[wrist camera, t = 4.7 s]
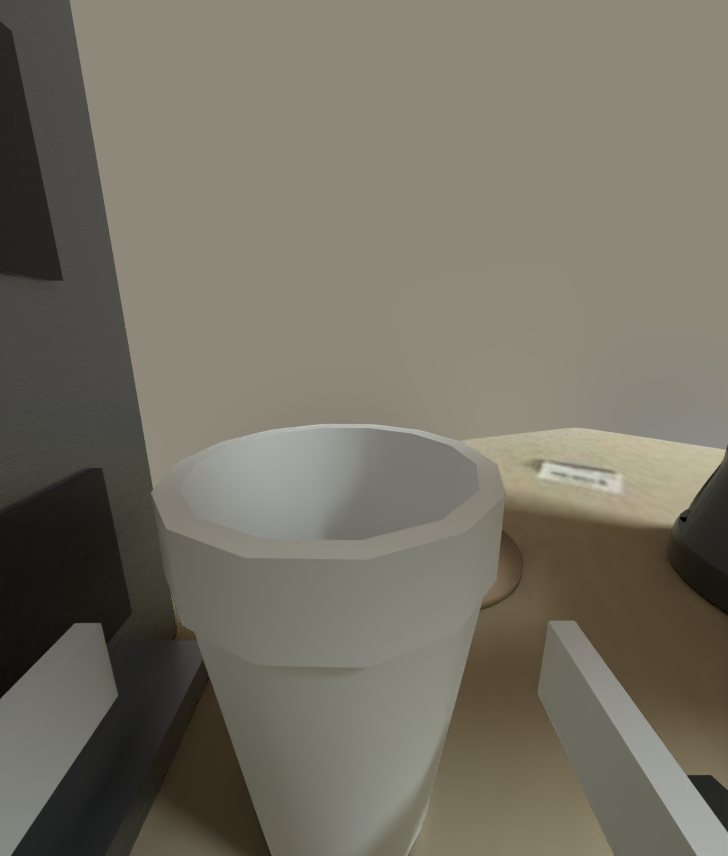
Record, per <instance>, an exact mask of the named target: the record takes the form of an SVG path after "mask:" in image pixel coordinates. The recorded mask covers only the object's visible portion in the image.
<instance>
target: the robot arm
mask: <svg viewBox="0 0 728 856" xmlns="http://www.w3.org/2000/svg"><path fill="white" fill-rule="evenodd" d="M668 556H669V559H670V561H671V563H672V565H673V566H674V568H675V569H676V571H677V572H678V573H679V574H680V575H681V576H682V577H683V578H684V579H685V580H686V581H687V582H688V583H689V584H690V585H691V586H692V587H693V588H694V589H696V590H697V591H698V592H699V593H700V594H702V595H703V596H704V597H706V598H707V599H708V600H710V601H711V602H713V603H714V604H715V605H717V606H718V607H720V608H721V609H723V610H725V611H726V612H728V446H727V449H726V452H725V456H724V459H723V461H722V462H721V464H720V465H719V467H718V468H717V469H716V470H715V472H714V473H713V474H712V475H711V477H710V478H709V479H708V480H707V482H706V483H705V484H704V486H703V487H702V488H701V490H700V491H699V492H698V494H697V495H696V497H695V498H694V500H693V502H692V503H691V505H690V507H689V509H687V510H685V511H684V512H682V513H681V514H680V515H679V517H678V518H677V519H676V521H675V523H674V525H673V529H672V533H671V537H670V541H669V545H668ZM537 694H538V696H539V698H540V700H541V702H542V704H543V707H544V709H545V711H546V713H547V715H548V717H549V719H550V721H551V723H552V725H553V728H554V730H555V732H556V734H557V736H558V738H559V740H560V742H561V744H562V747H563V749H564V751H565V753H566V755H567V757H568V759H569V761H570V763H571V765H572V768H573V770H574V772H575V774H576V776H577V778H578V780H579V782H580V784H581V787H582V789H583V791H584V793H585V795H586V797H587V799H588V801H589V803H590V805H591V808H592V810H593V812H594V814H595V816H596V818H597V820H598V822H599V824H600V826H601V829H602V831H603V833H604V835H605V837H606V839H607V841H608V843H609V845H610V848H611V850H612V852H613V854H614V856H728V790H727V789H726V788H725V787H723V786H722V785H721V784H720V783H719V782H718V781H717V780H716V779H715V778H713V777H712V776H711V775H686V774H685V773H684V771H683V770H682V769H681V767H680V766H679V764H678V763H677V762H676V760H675V759H674V757H673V756H672V755H671V753H670V752H669V751H668V749H667V748H666V746H665V745H664V744H663V742H662V741H661V739H660V738H659V737H658V735H657V734H656V733H655V731H654V730H653V728H652V727H651V726H650V724H649V723H648V721H647V720H646V719H645V717H644V716H643V715H642V713H641V712H640V710H639V709H638V708H637V706H636V705H635V703H634V702H633V701H632V699H631V698H630V697H629V695H628V694H627V692H626V691H625V690H624V688H623V687H622V685H621V684H620V683H619V681H618V680H617V679H616V677H615V676H614V674H613V673H612V672H611V670H610V669H609V667H608V666H607V665H606V663H605V662H604V661H603V659H602V658H601V656H600V655H599V654H598V652H597V651H596V649H595V648H594V647H593V645H592V644H591V643H590V641H589V640H588V638H587V637H586V636H585V634H584V633H583V631H582V630H581V629H580V627H579V626H578V625H577V623H576V622H575V621H548V627H547V633H546V640H545V647H544V653H543V660H542V666H541V673H540V680H539V686H538V693H537ZM117 697H118V693H117V688H116V684H115V680H114V676H113V671H112V667H111V663H110V659H109V655H108V650H107V646H106V642H105V638H104V634H103V629H102V625H101V623H75V624H74V625H73V626H72V627H71V628H70V629H69V630H68V631H67V632H66V633H65V634H64V635H63V636H62V637H61V638H60V639H59V640H58V641H57V642H56V643H55V644H54V645H53V646H52V647H51V648H50V649H49V650H48V651H47V652H46V653H45V654H44V655H43V656H42V657H41V658H40V659H39V660H38V661H37V662H36V663H35V664H34V665H33V666H32V667H31V668H30V669H29V670H28V671H27V672H26V673H25V674H24V675H23V676H22V677H21V678H20V679H19V680H18V682H17V683H16V684H15V685H14V686H13V687H12V688H11V689H10V690H9V691H8V692H7V693H6V694H5V695H4V696H3V697H2V698H1V699H0V856H11V854H12V853H13V851H14V850H15V848H16V847H17V845H18V844H19V843H20V841H21V840H22V838H23V837H24V835H25V834H26V832H27V831H28V829H29V828H30V826H31V825H32V823H33V822H34V820H35V819H36V817H37V816H38V814H39V813H40V811H41V810H42V808H43V807H44V805H45V804H46V802H47V801H48V799H49V798H50V796H51V795H52V793H53V792H54V790H55V789H56V787H57V786H58V784H59V783H60V781H61V780H62V779H63V777H64V776H65V774H66V773H67V771H68V770H69V768H70V767H71V765H72V764H73V762H74V761H75V759H76V758H77V756H78V755H79V753H80V752H81V750H82V749H83V747H84V746H85V744H86V743H87V741H88V740H89V738H90V737H91V735H92V734H93V732H94V731H95V729H96V728H97V726H98V725H99V723H100V722H101V720H102V719H103V717H104V716H105V715H106V713H107V712H108V710H109V709H110V707H111V706H112V704H113V703H114V701H115V700H116V698H117Z"/></svg>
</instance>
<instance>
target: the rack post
mask: <svg viewBox="0 0 728 856" xmlns="http://www.w3.org/2000/svg"><path fill="white" fill-rule="evenodd" d="M152 491H153V487H152V482H151V475H150V469H149V464H148V458H147V452H146V446H145V440H144V434H143V429H142V423H141V417H140V411H139V405H138V399H137V393H136V388H135V382H134V376H133V370H132V364H131V358H130V352H129V346H128V340H127V335H126V329H125V323H124V318H123V312H122V306H121V300H120V294H119V288H118V282H117V276H116V270H115V264H114V258H113V253H112V247H111V241H110V235H109V229H108V224H107V217H106V212H105V206H104V200H103V194H102V188H101V182H100V177H99V171H98V165H97V159H96V153H95V147H94V141H93V136H92V130H91V124H90V118H89V112H88V106H87V100H86V95H85V89H84V83H83V77H82V71H81V65H80V60H79V54H78V48H77V42H76V36H75V30H74V24H73V18H72V12H71V7H70V1H69V0H0V699H1V698H2V697H3V696H4V695H5V694H6V693H7V692H8V691H9V690H10V689H11V688H12V687H13V686H14V685H15V684H16V683H17V682H18V680H19V679H20V678H21V677H22V676H23V675H24V674H25V673H26V672H27V671H28V670H29V669H30V668H31V667H32V666H33V665H34V664H35V663H36V662H37V661H38V660H39V659H40V658H41V657H42V656H43V655H44V654H45V653H46V652H47V651H48V650H49V649H50V648H51V647H52V646H53V645H54V644H55V643H56V642H57V641H58V640H59V639H60V638H61V637H62V636H63V635H64V634H65V633H66V632H67V631H68V630H69V629H70V628H71V627H72V626H73V625H74V624H75V623H101V625H102V629H103V634H104V638H105V642H106V646H107V650H108V655H109V659H110V663H111V667H112V671H113V676H114V680H115V684H116V688H117V693H118V697H117V698H116V700H115V701H114V703H113V704H112V706H111V707H110V709H109V710H108V712H107V713H106V715H105V716H104V717H103V719H102V720H101V722H100V723H99V725H98V726H97V728H96V729H95V731H94V732H93V734H92V735H91V737H90V738H89V740H88V741H87V743H86V744H85V746H84V747H83V749H82V750H81V752H80V753H79V755H78V756H77V758H76V759H75V761H74V762H73V764H72V765H71V767H70V768H69V770H68V771H67V773H66V774H65V776H64V777H63V779H62V780H61V781H60V783H59V784H58V786H57V787H56V789H55V790H54V792H53V793H52V795H51V796H50V798H49V799H48V801H47V802H46V804H45V805H44V807H43V808H42V810H41V811H40V813H39V814H38V816H37V817H36V819H35V820H34V822H33V823H32V825H31V826H30V828H29V829H28V831H27V832H26V834H25V835H24V837H23V838H22V840H21V841H20V843H19V844H18V845H17V847H16V848H15V850H14V851H13V853H12V854H11V856H129V854H130V851H131V849H132V847H133V845H134V842H135V840H136V838H137V836H138V834H139V831H140V829H141V827H142V825H143V823H144V820H145V818H146V816H147V814H148V812H149V809H150V807H151V805H152V803H153V800H154V798H155V796H156V794H157V792H158V789H159V787H160V785H161V783H162V781H163V778H164V776H165V774H166V772H167V770H168V767H169V765H170V763H171V761H172V758H173V756H174V754H175V752H176V750H177V747H178V745H179V743H180V741H181V739H182V736H183V734H184V732H185V730H186V728H187V725H188V723H189V721H190V719H191V716H192V714H193V712H194V710H195V708H196V705H197V703H198V701H199V699H200V697H201V694H202V692H203V690H204V688H205V686H206V683H207V681H208V679H209V675H208V672H207V669H206V666H205V663H204V660H203V657H202V655H201V652H200V649H199V646H198V643H197V640H173V639H174V637H175V636H176V634H177V627H176V622H175V616H174V610H173V604H172V598H171V592H170V588H169V585H168V582H167V580H166V577H165V572H164V567H163V561H162V555H161V549H160V543H159V538H158V532H157V526H156V520H155V514H154V509H153V503H152V497H151V492H152Z"/></svg>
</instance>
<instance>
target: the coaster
mask: <svg viewBox="0 0 728 856" xmlns="http://www.w3.org/2000/svg"><path fill="white" fill-rule="evenodd" d="M521 572H522V556H521V554H520V551H519V549H518V547H517V545H516V544H515V543H514V541H513V540H512V539H511V538H510V537H509V536H508V535H507V534H506V533H505V532H504V531H502V533H501V543H500V553H499V562H498V572H497V580H496V581H495V583H494V584H493V585H492V587H491V588H490V590H489V591H488V592H487V594H486V595H485V596H484V598H483V601H482V604H481V608H480V609H484V608H487V607H490V606H492V605H495V604H497V603H499V602H501V601H502V600H504V599H505V598H507V597H508V596H509V595H510V594H511V593H512V592H513V591H514V590H515V589H516V587H517V586H518V584H519V581H520V579H521Z"/></svg>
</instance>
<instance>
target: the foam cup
mask: <svg viewBox="0 0 728 856" xmlns="http://www.w3.org/2000/svg"><path fill="white" fill-rule="evenodd" d="M151 497H152V503H153V509H154V514H155V520H156V526H157V532H158V538H159V543H160V549H161V555H162V561H163V567H164V572H165V577H166V580H167V582H168V585H169V588H170V591H171V594H172V597H173V600H174V603H175V606H176V609H177V612H178V614H179V617H180V620H181V623H182V626H184V627H185V628H187V629H189V630H191V631H193V632H194V634H195V637H196V640H197V643H198V646H199V649H200V652H201V655H202V657H203V660H204V663H205V666H206V669H207V672H208V675H209V678H210V681H211V684H212V686H213V689H214V692H215V695H216V698H217V701H218V704H219V707H220V710H221V713H222V716H223V718H224V721H225V724H226V727H227V730H228V733H229V736H230V739H231V742H232V745H233V747H234V750H235V753H236V756H237V759H238V762H239V765H240V768H241V771H242V774H243V776H244V779H245V782H246V785H247V788H248V791H249V794H250V797H251V800H252V803H253V805H254V808H255V811H256V814H257V817H258V820H259V822H260V825H261V828H262V831H263V833H264V836H265V839H266V842H267V844H268V847H269V850H270V853H271V855H272V856H408V854H409V852H410V850H411V848H412V846H413V844H414V842H415V840H416V838H417V836H418V835H419V833H420V831H421V829H422V822H423V820H424V819H425V817H426V813H427V809H428V805H429V801H430V798H431V794H432V790H433V786H434V783H435V779H436V775H437V771H438V767H439V764H440V760H441V756H442V752H443V748H444V745H445V741H446V737H447V733H448V729H449V726H450V722H451V718H452V714H453V710H454V707H455V703H456V699H457V695H458V692H459V688H460V684H461V680H462V676H463V673H464V669H465V665H466V661H467V657H468V654H469V650H470V646H471V642H472V638H473V635H474V631H475V627H476V623H477V619H478V616H479V612H480V608H481V604H482V601H483V598H484V596H485V595H486V594H487V592H488V591H489V590H490V588H491V587H492V585H493V584H494V583H495V581H496V580H497V572H498V562H499V553H500V543H501V533H502V524H503V514H504V505H505V491H504V488H503V484H502V480H501V476H500V473H499V469H498V465H497V464H496V463H495V462H493V461H491V460H490V459H488V458H487V457H485V456H484V455H482V454H481V453H479V452H478V451H476V450H474V449H473V448H471V447H470V446H468V445H467V444H465V443H463V442H459V441H456V440H452V439H449V438H446V437H442V436H439V435H435V434H432V433H428V432H425V431H421V430H414V429H406V428H399V427H390V426H382V425H374V424H318V425H309V426H301V427H291V428H282V429H273V430H267V431H263V432H259V433H256V434H251V435H247V436H243V437H239V438H235V439H231V440H227V441H223V442H219V443H217V444H215V445H213V446H211V447H209V448H207V449H204V450H202V451H200V452H198V453H196V454H194V455H192V456H190V457H187V458H185V459H183V460H181V461H179V462H177V463H176V464H175V465H174V466H173V467H172V468H171V469H170V471H169V472H168V473H167V474H166V475H165V476H164V478H163V479H162V480H161V481H160V482H159V484H158V485H157V486H156V487H155V488H154V489H153V491H152V492H151Z"/></svg>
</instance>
